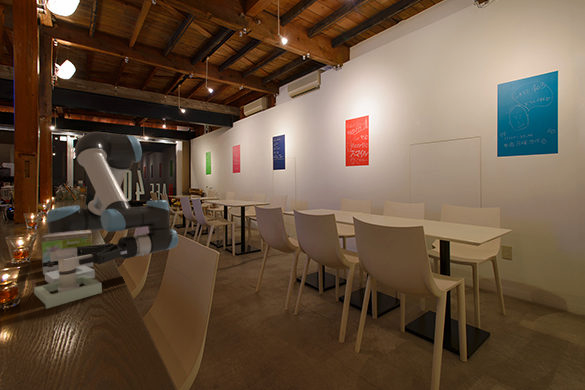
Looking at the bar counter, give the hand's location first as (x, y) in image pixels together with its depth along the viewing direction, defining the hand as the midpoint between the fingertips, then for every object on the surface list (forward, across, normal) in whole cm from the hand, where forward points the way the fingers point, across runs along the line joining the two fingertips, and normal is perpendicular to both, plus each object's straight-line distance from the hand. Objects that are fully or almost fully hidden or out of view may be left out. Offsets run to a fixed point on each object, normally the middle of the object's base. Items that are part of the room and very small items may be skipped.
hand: (56, 260), depth 81 cm
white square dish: (-6, +14, -11) cm, 19 cm away
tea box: (-10, +31, -11) cm, 35 cm away
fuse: (-2, 0, -10) cm, 10 cm away
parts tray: (-2, 0, -11) cm, 11 cm away
